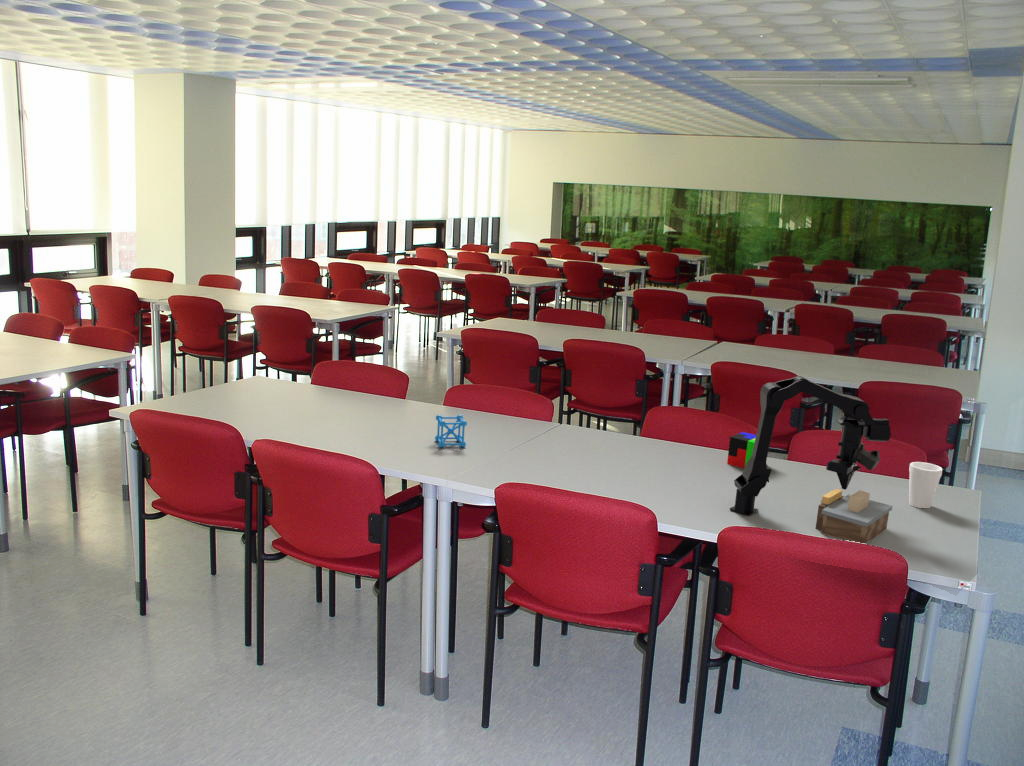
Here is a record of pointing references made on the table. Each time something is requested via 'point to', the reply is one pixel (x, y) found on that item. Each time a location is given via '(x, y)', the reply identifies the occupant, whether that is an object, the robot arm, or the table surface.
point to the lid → (857, 509)
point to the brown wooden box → (849, 527)
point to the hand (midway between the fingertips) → (844, 489)
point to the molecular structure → (450, 431)
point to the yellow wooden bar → (831, 496)
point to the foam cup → (923, 483)
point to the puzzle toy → (740, 449)
